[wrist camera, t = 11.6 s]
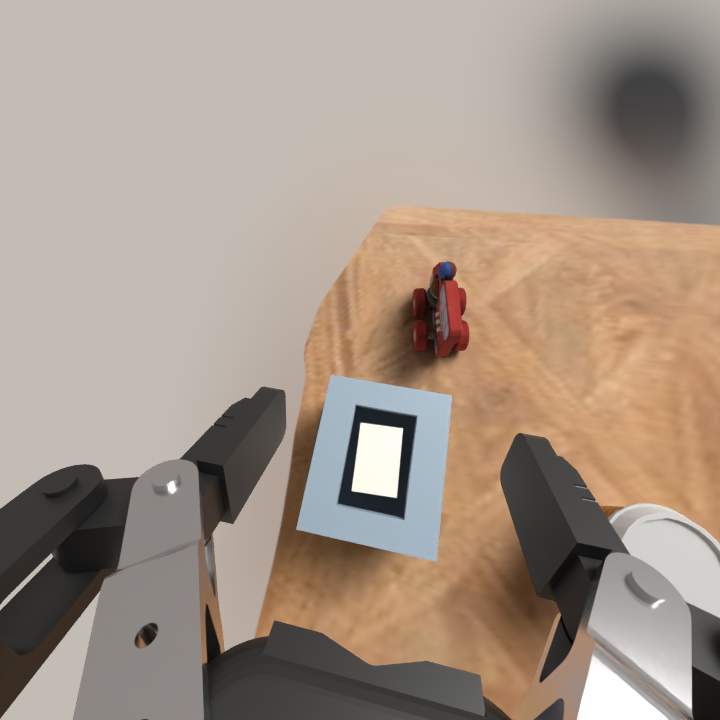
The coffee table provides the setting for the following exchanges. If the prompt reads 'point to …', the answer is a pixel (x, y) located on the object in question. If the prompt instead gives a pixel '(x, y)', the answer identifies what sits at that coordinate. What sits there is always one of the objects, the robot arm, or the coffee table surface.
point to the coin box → (416, 472)
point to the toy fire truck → (441, 312)
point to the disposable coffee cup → (672, 550)
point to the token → (378, 460)
